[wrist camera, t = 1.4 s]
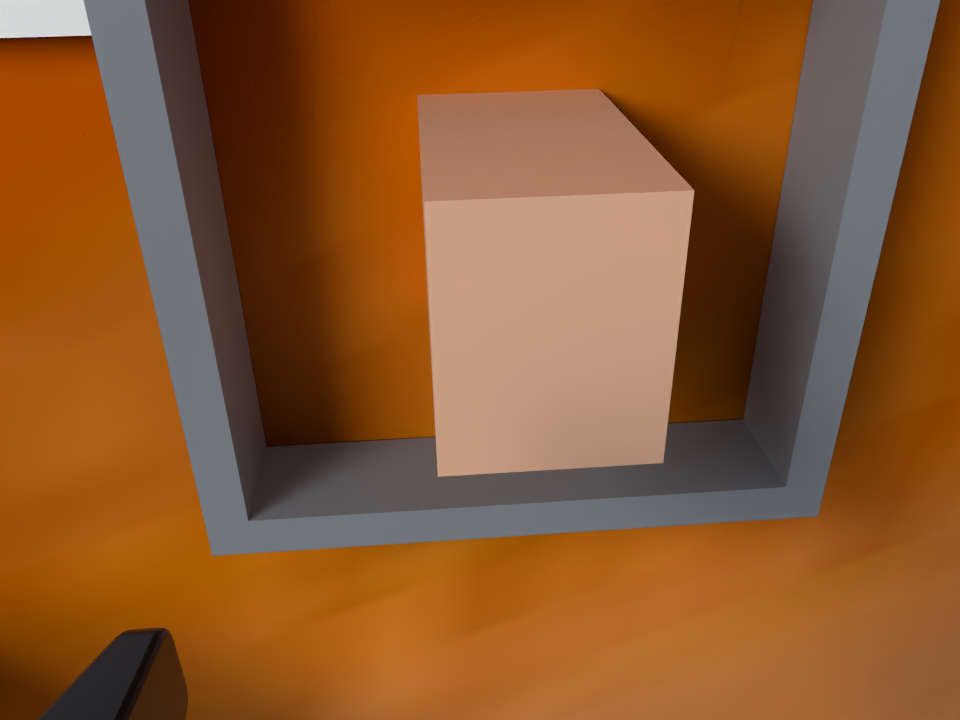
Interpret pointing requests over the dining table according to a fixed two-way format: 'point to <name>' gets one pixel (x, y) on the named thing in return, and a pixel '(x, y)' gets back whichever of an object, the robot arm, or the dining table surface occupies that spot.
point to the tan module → (549, 281)
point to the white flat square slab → (43, 18)
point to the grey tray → (413, 462)
